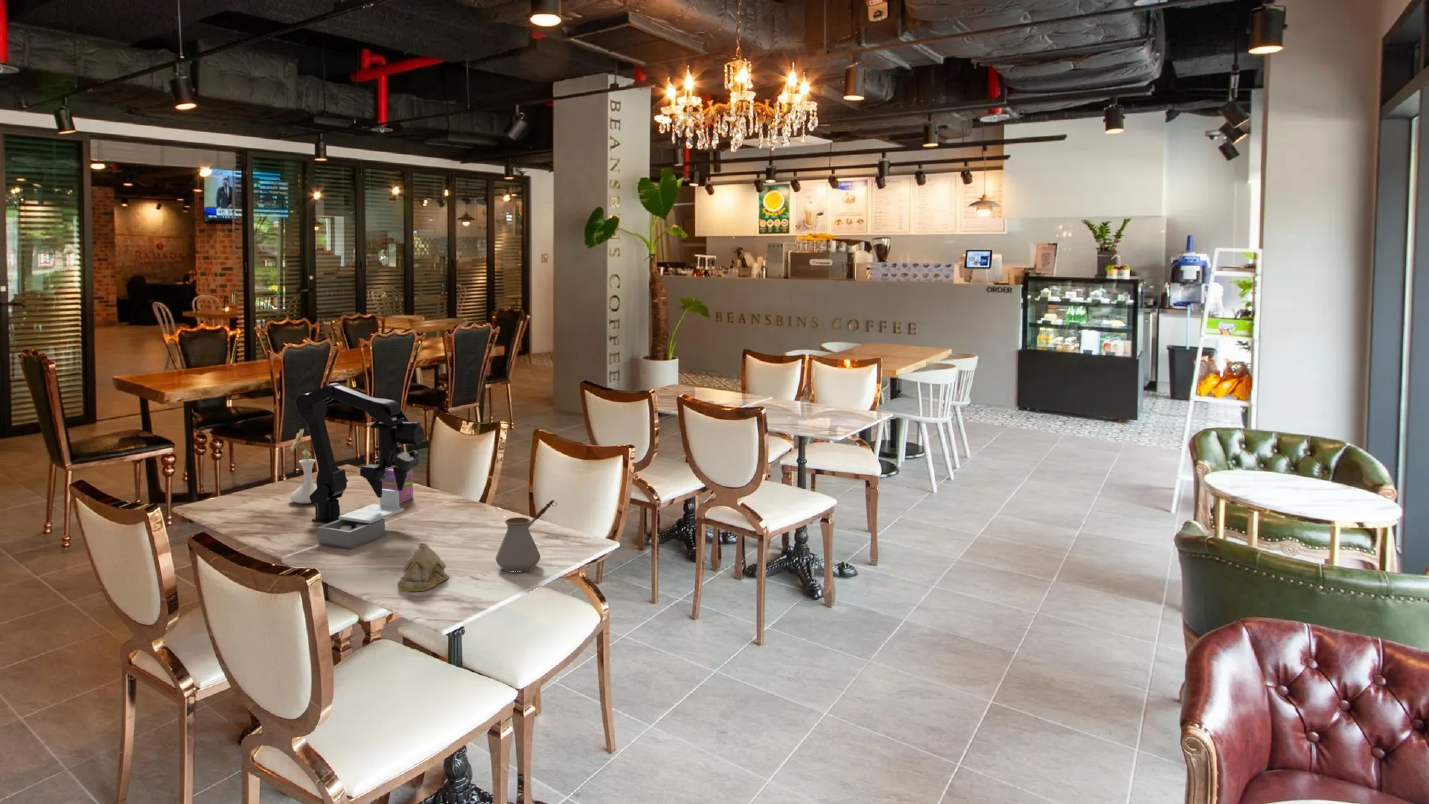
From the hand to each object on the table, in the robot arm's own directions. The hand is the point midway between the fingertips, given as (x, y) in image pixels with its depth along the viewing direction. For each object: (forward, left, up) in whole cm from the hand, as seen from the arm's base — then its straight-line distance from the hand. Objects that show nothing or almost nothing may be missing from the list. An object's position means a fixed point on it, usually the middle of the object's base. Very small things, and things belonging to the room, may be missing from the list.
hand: (390, 494), depth 264 cm
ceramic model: (+39, -36, -10) cm, 54 cm away
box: (-16, +23, -10) cm, 30 cm away
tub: (0, -16, -10) cm, 19 cm away
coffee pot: (+56, -13, -10) cm, 58 cm away
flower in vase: (-41, +10, -10) cm, 43 cm away
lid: (0, -7, -4) cm, 9 cm away
